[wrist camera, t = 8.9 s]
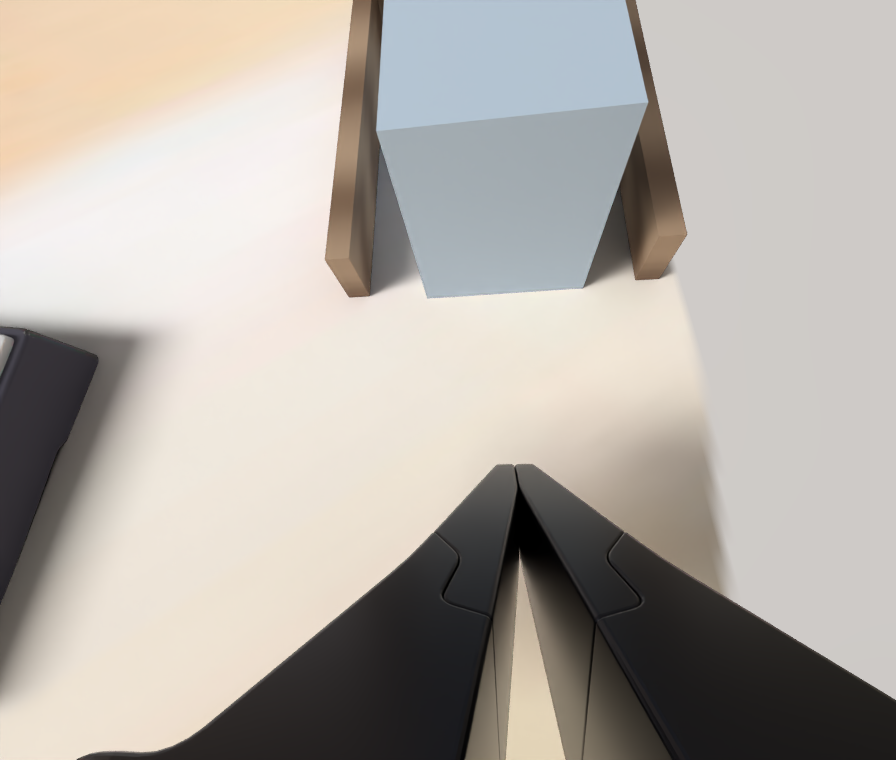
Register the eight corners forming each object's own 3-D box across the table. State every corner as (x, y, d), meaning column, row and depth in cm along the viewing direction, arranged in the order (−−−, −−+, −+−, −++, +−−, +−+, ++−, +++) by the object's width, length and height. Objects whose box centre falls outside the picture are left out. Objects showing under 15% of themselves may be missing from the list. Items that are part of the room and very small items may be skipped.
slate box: (582, 289, 19) (648, 101, 11) (427, 299, 20) (376, 131, 12) (550, 44, 25) (578, -210, 16) (429, 59, 25) (394, -178, 17)
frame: (658, 278, 19) (687, 234, 16) (349, 297, 20) (324, 259, 17) (606, 1, 25) (620, -66, 22) (371, 31, 26) (356, -29, 24)
